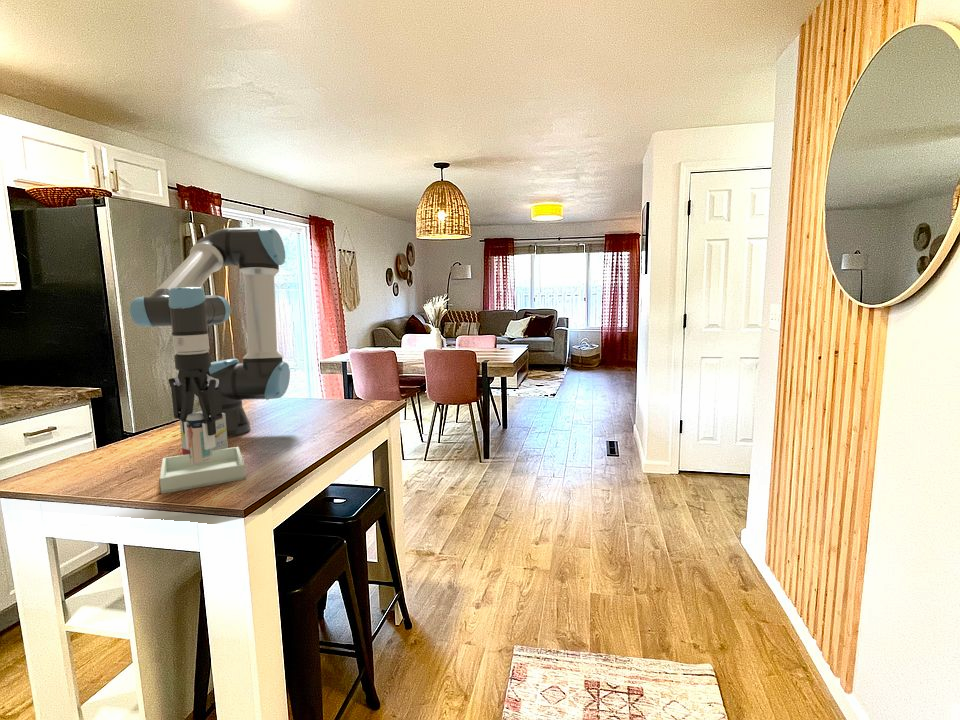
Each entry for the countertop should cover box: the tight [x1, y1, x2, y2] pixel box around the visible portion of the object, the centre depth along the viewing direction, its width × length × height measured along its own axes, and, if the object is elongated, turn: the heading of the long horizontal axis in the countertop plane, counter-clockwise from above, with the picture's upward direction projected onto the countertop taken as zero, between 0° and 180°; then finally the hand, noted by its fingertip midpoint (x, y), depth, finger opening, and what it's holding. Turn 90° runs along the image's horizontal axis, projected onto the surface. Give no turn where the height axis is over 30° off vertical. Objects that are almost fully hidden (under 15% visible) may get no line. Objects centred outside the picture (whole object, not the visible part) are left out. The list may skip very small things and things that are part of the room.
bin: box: [159, 446, 247, 495], centre depth 129 cm, size 17×17×4 cm
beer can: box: [186, 411, 212, 465], centre depth 127 cm, size 5×5×12 cm
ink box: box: [179, 410, 229, 455], centre depth 144 cm, size 9×9×12 cm
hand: (201, 447), depth 128 cm, fingers closed on beer can, 5 cm apart
